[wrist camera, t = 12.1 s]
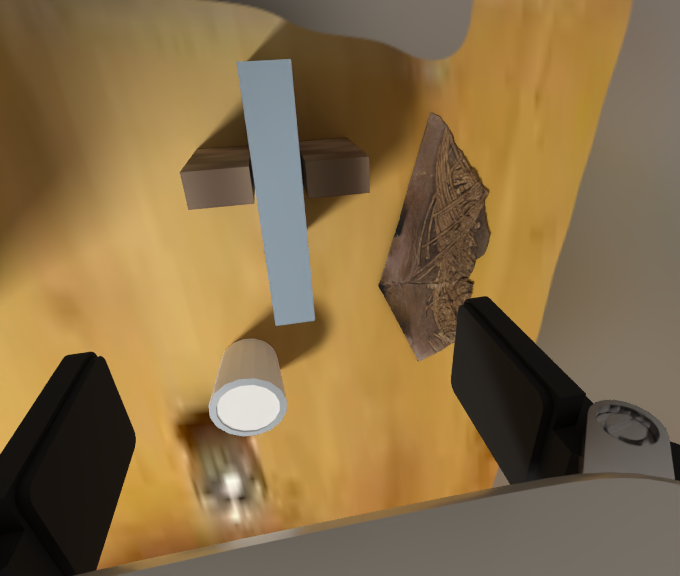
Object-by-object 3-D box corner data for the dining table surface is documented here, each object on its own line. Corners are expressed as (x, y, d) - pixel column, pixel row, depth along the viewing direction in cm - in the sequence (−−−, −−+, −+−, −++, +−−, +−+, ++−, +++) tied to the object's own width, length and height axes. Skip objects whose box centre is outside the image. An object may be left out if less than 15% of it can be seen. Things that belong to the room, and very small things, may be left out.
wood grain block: (202, 179, 34) (188, 209, 27) (196, 149, 33) (179, 172, 26) (347, 167, 35) (369, 192, 28) (346, 137, 34) (369, 156, 27)
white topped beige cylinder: (276, 326, 42) (278, 371, 35) (289, 378, 45) (293, 427, 39) (207, 341, 41) (198, 389, 35) (225, 392, 44) (220, 444, 38)
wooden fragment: (466, 352, 48) (470, 358, 47) (373, 363, 46) (376, 369, 45) (506, 111, 36) (513, 112, 35) (383, 114, 34) (386, 116, 33)
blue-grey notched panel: (245, 62, 30) (236, 61, 18) (278, 61, 31) (290, 59, 19) (269, 240, 37) (275, 325, 25) (296, 237, 37) (315, 320, 25)
